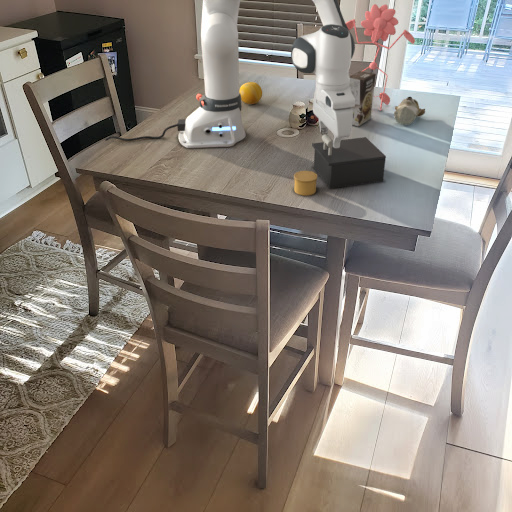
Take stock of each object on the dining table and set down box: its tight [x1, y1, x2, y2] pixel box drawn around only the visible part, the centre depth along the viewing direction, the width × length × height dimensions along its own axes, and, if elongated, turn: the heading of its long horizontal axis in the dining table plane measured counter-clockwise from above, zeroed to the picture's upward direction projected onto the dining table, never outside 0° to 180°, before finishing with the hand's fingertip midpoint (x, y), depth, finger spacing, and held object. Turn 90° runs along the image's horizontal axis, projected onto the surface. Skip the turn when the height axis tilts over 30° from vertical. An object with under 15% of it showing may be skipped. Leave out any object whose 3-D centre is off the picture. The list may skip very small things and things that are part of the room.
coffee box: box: [349, 70, 377, 127], centre depth 192 cm, size 9×6×16 cm
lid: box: [311, 134, 387, 166], centre depth 157 cm, size 17×14×5 cm
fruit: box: [239, 81, 263, 105], centre depth 211 cm, size 9×8×8 cm
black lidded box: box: [313, 149, 387, 189], centre depth 161 cm, size 16×14×7 cm
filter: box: [293, 170, 318, 196], centre depth 154 cm, size 6×6×4 cm
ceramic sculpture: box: [393, 96, 426, 126], centre depth 194 cm, size 11×9×15 cm
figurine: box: [345, 3, 416, 111], centre depth 201 cm, size 15×26×35 cm, turn 71°
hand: (329, 140), depth 155 cm, fingers open, 8 cm apart
